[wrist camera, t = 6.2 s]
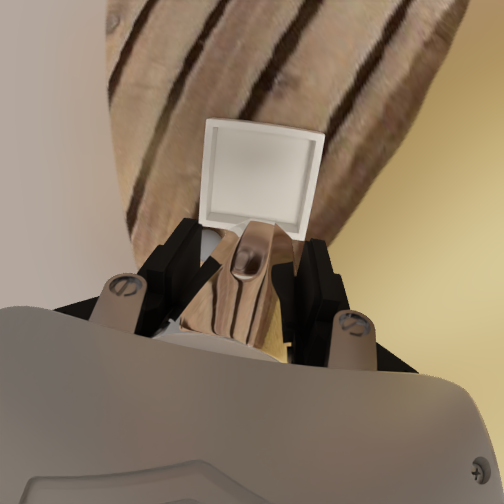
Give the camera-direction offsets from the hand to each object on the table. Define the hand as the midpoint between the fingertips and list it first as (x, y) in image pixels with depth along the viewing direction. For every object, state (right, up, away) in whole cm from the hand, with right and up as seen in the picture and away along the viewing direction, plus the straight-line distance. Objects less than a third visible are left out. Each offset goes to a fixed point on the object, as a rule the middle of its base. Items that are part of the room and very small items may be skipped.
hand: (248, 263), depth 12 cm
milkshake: (0, +1, +2) cm, 2 cm away
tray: (+1, +7, +13) cm, 15 cm away
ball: (-4, +2, +17) cm, 17 cm away
